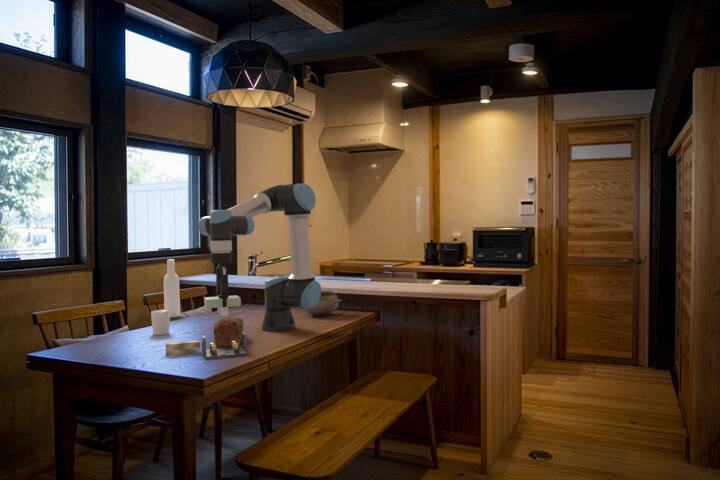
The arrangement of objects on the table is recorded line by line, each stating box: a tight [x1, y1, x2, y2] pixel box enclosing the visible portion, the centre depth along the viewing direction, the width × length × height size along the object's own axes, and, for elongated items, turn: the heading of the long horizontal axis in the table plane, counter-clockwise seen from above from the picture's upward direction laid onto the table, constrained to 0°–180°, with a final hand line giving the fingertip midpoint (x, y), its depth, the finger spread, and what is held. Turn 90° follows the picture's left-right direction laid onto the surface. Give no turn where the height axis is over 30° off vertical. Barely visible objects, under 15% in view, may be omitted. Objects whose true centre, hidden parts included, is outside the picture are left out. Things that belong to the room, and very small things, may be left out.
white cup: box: [150, 309, 171, 336], centre depth 257 cm, size 8×8×10 cm
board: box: [203, 295, 242, 309], centre depth 212 cm, size 12×8×3 cm, turn 111°
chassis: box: [200, 331, 249, 361], centre depth 213 cm, size 16×12×7 cm
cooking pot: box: [302, 289, 343, 318], centre depth 298 cm, size 25×19×12 cm
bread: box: [213, 316, 244, 347], centre depth 235 cm, size 19×11×10 cm, turn 7°
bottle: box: [163, 258, 181, 318], centre depth 305 cm, size 8×8×30 cm
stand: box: [165, 340, 201, 357], centre depth 216 cm, size 12×3×4 cm, turn 111°
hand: (222, 314), depth 213 cm, fingers closed on board, 8 cm apart
